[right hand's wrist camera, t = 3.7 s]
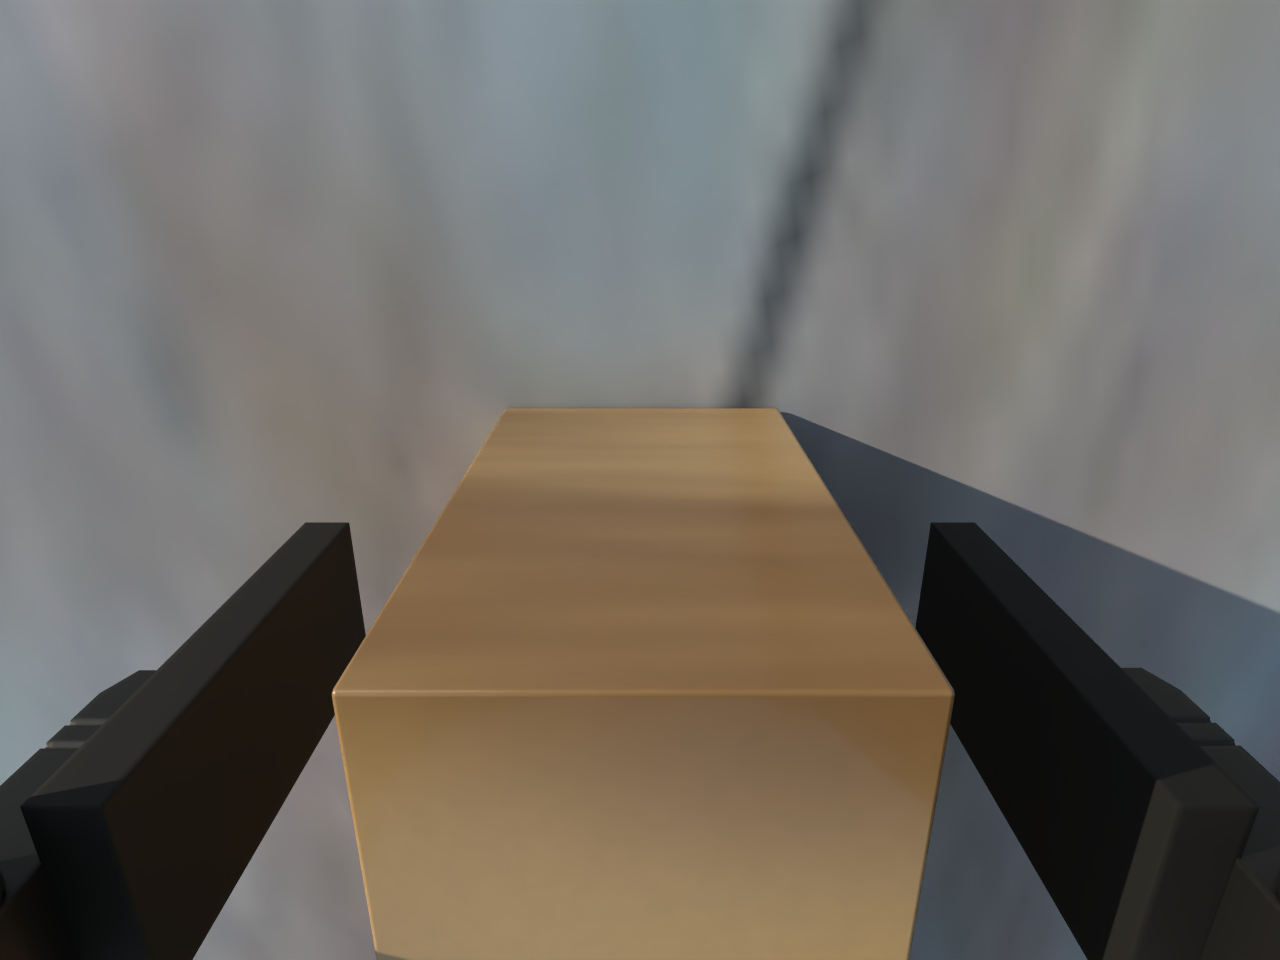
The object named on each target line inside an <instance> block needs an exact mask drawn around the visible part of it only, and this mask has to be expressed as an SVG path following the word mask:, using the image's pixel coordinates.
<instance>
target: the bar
mask: <svg viewBox="0 0 1280 960" xmlns="http://www.w3.org/2000/svg"><path fill="white" fill-rule="evenodd" d="M954 698H955V692H954V689H953V688H952V686H951V685H950V683H949V681H948V680H947V678H946V677H945V675H944V673H943V672H942V670H941V669H940V667H939V665H938V664H937V662H936V661H935V659H934V657H933V656H932V654H931V653H930V651H929V649H928V648H927V646H926V645H925V643H924V641H923V640H922V638H921V637H920V635H919V634H918V632H917V630H916V629H915V627H914V626H913V624H912V622H911V621H910V619H909V618H908V616H907V614H906V613H905V611H904V610H903V608H902V606H901V605H900V603H899V602H898V600H897V598H896V597H895V595H894V594H893V592H892V590H891V589H890V587H889V586H888V584H887V582H886V581H885V579H884V578H883V576H882V574H881V573H880V571H879V570H878V568H877V566H876V565H875V563H874V562H873V560H872V558H871V557H870V555H869V554H868V552H867V550H866V549H865V547H864V546H863V544H862V543H861V541H860V539H859V538H858V536H857V535H856V533H855V531H854V530H853V528H852V527H851V525H850V523H849V522H848V520H847V519H846V517H845V515H844V514H843V512H842V511H841V509H840V507H839V506H838V504H837V503H836V501H835V499H834V498H833V496H832V495H831V493H830V491H829V490H828V488H827V487H826V485H825V483H824V482H823V480H822V479H821V477H820V475H819V474H818V472H817V471H816V469H815V467H814V466H813V464H812V463H811V461H810V460H809V458H808V456H807V455H806V453H805V452H804V450H803V448H802V447H801V445H800V444H799V442H798V440H797V439H796V437H795V436H794V434H793V432H792V431H791V429H790V428H789V426H788V424H787V423H786V421H785V420H784V418H783V416H782V415H781V413H780V412H779V410H778V409H776V408H507V409H505V410H504V412H503V414H502V415H501V417H500V419H499V420H498V422H497V423H496V425H495V427H494V428H493V430H492V432H491V433H490V435H489V436H488V438H487V440H486V441H485V443H484V445H483V446H482V448H481V449H480V451H479V453H478V454H477V456H476V458H475V459H474V461H473V462H472V464H471V466H470V467H469V469H468V471H467V472H466V474H465V475H464V477H463V479H462V480H461V482H460V484H459V485H458V487H457V489H456V490H455V492H454V493H453V495H452V497H451V498H450V500H449V502H448V503H447V505H446V506H445V508H444V510H443V511H442V513H441V515H440V516H439V518H438V519H437V521H436V523H435V524H434V526H433V528H432V529H431V531H430V532H429V534H428V536H427V537H426V539H425V541H424V542H423V544H422V545H421V547H420V549H419V550H418V552H417V554H416V555H415V557H414V558H413V560H412V562H411V563H410V565H409V567H408V568H407V570H406V571H405V573H404V575H403V576H402V578H401V580H400V581H399V583H398V585H397V586H396V588H395V589H394V591H393V593H392V594H391V596H390V598H389V599H388V601H387V602H386V604H385V606H384V607H383V609H382V611H381V612H380V614H379V615H378V617H377V619H376V620H375V622H374V624H373V625H372V627H371V628H370V630H369V632H368V633H367V635H366V637H365V638H364V640H363V641H362V643H361V645H360V646H359V648H358V650H357V651H356V653H355V654H354V656H353V658H352V659H351V661H350V663H349V664H348V666H347V667H346V669H345V671H344V672H343V674H342V676H341V677H340V679H339V681H338V682H337V684H336V685H335V687H334V689H333V691H332V700H333V705H334V711H335V717H336V723H337V729H338V735H339V741H340V747H341V752H342V758H343V764H344V770H345V776H346V782H347V788H348V793H349V799H350V805H351V811H352V817H353V823H354V829H355V834H356V840H357V846H358V852H359V858H360V864H361V870H362V875H363V881H364V887H365V893H366V899H367V905H368V911H369V917H370V922H371V928H372V934H373V940H374V946H375V952H376V958H377V960H909V956H910V950H911V945H912V939H913V933H914V927H915V922H916V916H917V910H918V904H919V899H920V893H921V887H922V881H923V876H924V870H925V864H926V858H927V853H928V847H929V841H930V835H931V830H932V824H933V818H934V812H935V807H936V801H937V795H938V790H939V784H940V778H941V772H942V767H943V761H944V755H945V749H946V744H947V738H948V732H949V726H950V721H951V715H952V709H953V703H954Z"/></svg>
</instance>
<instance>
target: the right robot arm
mask: <svg viewBox="0 0 1280 960" xmlns="http://www.w3.org/2000/svg"><path fill="white" fill-rule="evenodd" d="M915 629H916V630H917V632H918V634H919V635H920V637H921V638H922V640H923V641H924V643H925V645H926V646H927V648H928V649H929V651H930V653H931V654H932V656H933V657H934V659H935V661H936V662H937V664H938V665H939V667H940V669H941V670H942V672H943V673H944V675H945V677H946V678H947V680H948V681H949V683H950V685H951V686H952V688H953V689H954V692H955V698H954V703H953V709H952V715H951V721H950V724H951V726H952V727H953V729H954V731H955V732H956V734H957V736H958V738H959V739H960V741H961V743H962V744H963V746H964V748H965V750H966V751H967V753H968V755H969V756H970V758H971V760H972V762H973V763H974V765H975V767H976V769H977V770H978V772H979V774H980V775H981V777H982V779H983V781H984V782H985V784H986V786H987V787H988V789H989V791H990V793H991V794H992V796H993V798H994V799H995V801H996V803H997V805H998V806H999V808H1000V810H1001V811H1002V813H1003V815H1004V817H1005V818H1006V820H1007V822H1008V824H1009V825H1010V827H1011V829H1012V830H1013V832H1014V834H1015V836H1016V837H1017V839H1018V841H1019V842H1020V844H1021V846H1022V848H1023V849H1024V851H1025V853H1026V854H1027V856H1028V858H1029V860H1030V861H1031V863H1032V865H1033V867H1034V868H1035V870H1036V872H1037V873H1038V875H1039V877H1040V879H1041V880H1042V882H1043V884H1044V885H1045V887H1046V889H1047V891H1048V892H1049V894H1050V896H1051V897H1052V899H1053V901H1054V903H1055V904H1056V906H1057V908H1058V910H1059V911H1060V913H1061V915H1062V916H1063V918H1064V920H1065V922H1066V923H1067V925H1068V927H1069V928H1070V930H1071V932H1072V934H1073V935H1074V937H1075V939H1076V940H1077V942H1078V944H1079V946H1080V947H1081V949H1082V951H1083V953H1084V954H1085V956H1086V958H1087V959H1088V960H1280V782H1279V781H1278V780H1277V779H1276V778H1275V777H1274V776H1273V775H1272V774H1270V773H1269V772H1268V771H1267V770H1266V769H1265V768H1264V767H1263V766H1262V765H1261V764H1260V763H1259V762H1258V761H1256V760H1255V759H1254V758H1253V757H1252V756H1251V755H1250V754H1249V753H1248V752H1247V751H1246V750H1245V749H1243V748H1242V747H1241V746H1236V745H1235V743H1234V739H1233V738H1232V737H1231V736H1229V735H1228V734H1227V733H1226V732H1225V731H1224V730H1223V729H1222V728H1221V727H1220V726H1219V725H1218V724H1216V723H1211V722H1210V717H1209V716H1208V715H1207V714H1206V713H1205V712H1203V711H1202V710H1201V709H1200V708H1199V707H1198V706H1197V705H1196V704H1195V703H1194V702H1193V701H1192V700H1191V699H1189V698H1188V697H1187V696H1186V695H1185V694H1184V693H1183V692H1182V691H1181V690H1179V689H1177V688H1175V687H1174V686H1172V685H1170V684H1168V683H1167V682H1165V681H1163V680H1162V679H1160V678H1158V677H1156V676H1155V675H1153V674H1151V673H1149V672H1148V671H1146V670H1144V669H1142V668H1120V667H1119V666H1118V665H1117V664H1116V663H1115V662H1114V661H1113V660H1112V659H1111V658H1110V657H1109V656H1108V655H1107V654H1106V653H1105V652H1104V651H1103V650H1102V649H1101V648H1100V647H1099V646H1098V645H1097V644H1096V643H1095V642H1094V641H1093V640H1092V639H1091V638H1090V637H1089V636H1088V635H1087V634H1086V633H1085V632H1084V631H1083V630H1082V629H1081V628H1080V627H1079V626H1078V625H1077V624H1076V623H1075V622H1074V621H1073V620H1072V619H1071V618H1070V617H1069V616H1068V615H1067V614H1066V613H1065V612H1064V611H1063V610H1062V609H1061V608H1060V607H1059V606H1058V605H1057V604H1056V603H1055V602H1054V601H1053V600H1052V599H1051V598H1050V597H1049V596H1048V595H1047V594H1046V593H1045V592H1044V591H1043V590H1042V589H1041V588H1040V587H1039V586H1038V585H1037V584H1036V583H1035V582H1034V581H1033V580H1032V579H1031V578H1030V577H1029V576H1028V575H1027V574H1026V573H1025V572H1024V571H1023V570H1022V569H1021V568H1020V567H1019V566H1018V565H1017V564H1016V563H1015V562H1014V561H1013V560H1012V559H1011V558H1010V557H1009V556H1008V555H1007V554H1006V553H1005V552H1004V551H1003V550H1002V549H1001V548H1000V547H999V546H998V545H997V544H996V543H995V542H994V541H993V540H992V539H990V538H989V537H988V536H987V535H986V534H985V533H984V532H983V531H982V530H981V529H980V528H979V527H978V526H977V525H976V524H975V523H931V526H930V533H929V540H928V547H927V553H926V560H925V567H924V574H923V581H922V587H921V594H920V601H919V608H918V615H917V622H916V628H915ZM365 637H366V635H365V628H364V621H363V615H362V608H361V601H360V594H359V587H358V581H357V574H356V567H355V560H354V553H353V546H352V540H351V533H350V526H349V523H305V524H304V525H303V526H302V527H301V528H300V529H299V530H298V531H297V532H296V533H295V534H294V535H293V536H292V537H291V538H290V539H289V540H288V541H286V542H285V543H284V544H283V545H282V546H281V547H280V548H279V549H278V550H277V551H276V552H275V553H274V554H273V555H272V556H271V557H270V558H269V559H268V560H267V561H266V562H265V563H264V564H263V565H262V566H261V567H260V568H259V569H258V570H257V571H256V572H255V573H254V574H253V575H252V576H251V577H250V578H249V579H248V580H247V581H246V582H245V583H244V584H243V585H242V586H241V587H240V588H239V589H238V590H237V591H236V592H235V593H234V594H233V595H232V596H231V597H230V598H229V599H228V600H227V601H226V602H225V603H224V604H223V605H222V606H221V607H220V608H219V609H218V610H217V611H216V612H215V613H214V614H213V615H212V616H211V617H210V618H209V619H208V620H207V621H206V622H205V623H204V624H203V625H202V626H201V627H200V628H199V629H198V630H197V631H196V632H195V633H194V634H193V635H192V636H191V637H190V638H189V639H188V640H187V641H186V642H185V643H184V644H183V645H182V646H181V647H180V648H179V649H178V650H177V651H176V652H175V653H174V654H173V655H172V656H171V657H170V658H169V659H168V660H167V661H166V662H165V663H164V664H163V665H162V666H161V667H160V668H159V669H158V670H139V671H137V672H136V673H134V674H132V675H131V676H129V677H127V678H125V679H124V680H122V681H120V682H118V683H117V684H115V685H113V686H112V687H110V688H108V689H106V690H105V691H103V692H101V693H100V694H99V695H97V696H96V697H95V698H94V699H93V700H92V701H91V702H90V703H89V704H88V705H87V706H86V707H85V708H83V709H82V710H81V711H80V712H79V713H78V714H77V715H76V716H75V717H74V718H73V719H72V720H71V724H70V726H64V727H63V728H62V729H61V730H60V731H59V732H58V733H57V734H56V735H55V736H53V737H52V738H51V739H50V740H49V741H48V742H47V746H46V748H45V749H39V750H38V751H37V752H36V753H35V754H34V755H33V756H32V757H31V758H30V759H29V760H28V761H27V762H26V763H24V764H23V765H22V766H21V767H20V768H19V769H18V770H17V771H16V772H15V773H14V774H13V775H12V776H11V777H9V778H8V779H7V780H6V781H5V782H4V783H3V784H2V785H1V786H0V960H192V959H193V958H194V956H195V954H196V953H197V951H198V949H199V947H200V946H201V944H202V942H203V940H204V939H205V937H206V935H207V934H208V932H209V930H210V928H211V927H212V925H213V923H214V922H215V920H216V918H217V916H218V915H219V913H220V911H221V910H222V908H223V906H224V904H225V903H226V901H227V899H228V898H229V896H230V894H231V892H232V891H233V889H234V887H235V885H236V884H237V882H238V880H239V879H240V877H241V875H242V873H243V872H244V870H245V868H246V867H247V865H248V863H249V861H250V860H251V858H252V856H253V855H254V853H255V851H256V849H257V848H258V846H259V844H260V842H261V841H262V839H263V837H264V836H265V834H266V832H267V830H268V829H269V827H270V825H271V824H272V822H273V820H274V818H275V817H276V815H277V813H278V812H279V810H280V808H281V806H282V805H283V803H284V801H285V799H286V798H287V796H288V794H289V793H290V791H291V789H292V787H293V786H294V784H295V782H296V781H297V779H298V777H299V775H300V774H301V772H302V770H303V769H304V767H305V765H306V763H307V762H308V760H309V758H310V756H311V755H312V753H313V751H314V750H315V748H316V746H317V744H318V743H319V741H320V739H321V738H322V736H323V734H324V732H325V731H326V729H327V727H328V726H329V724H330V722H331V720H332V719H333V717H334V715H335V711H334V705H333V700H332V691H333V689H334V687H335V685H336V684H337V682H338V681H339V679H340V677H341V676H342V674H343V672H344V671H345V669H346V667H347V666H348V664H349V663H350V661H351V659H352V658H353V656H354V654H355V653H356V651H357V650H358V648H359V646H360V645H361V643H362V641H363V640H364V638H365Z"/></svg>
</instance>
